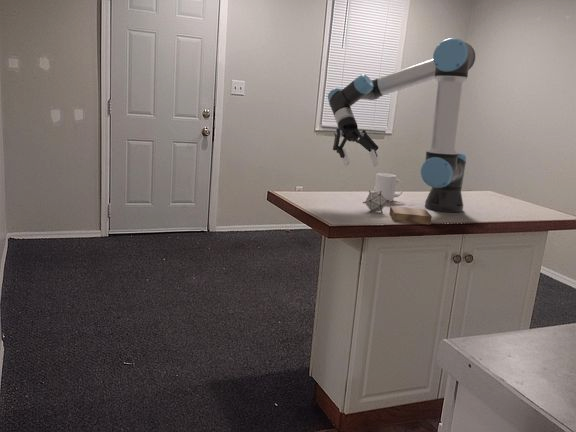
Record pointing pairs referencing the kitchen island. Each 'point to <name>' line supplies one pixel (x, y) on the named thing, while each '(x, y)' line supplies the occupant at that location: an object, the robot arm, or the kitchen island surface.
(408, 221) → the pedestal
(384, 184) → the mug
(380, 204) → the game die
